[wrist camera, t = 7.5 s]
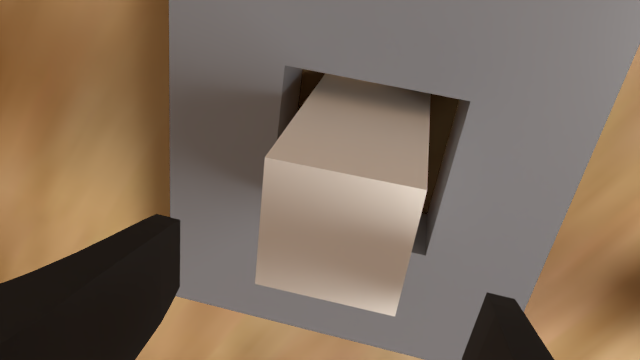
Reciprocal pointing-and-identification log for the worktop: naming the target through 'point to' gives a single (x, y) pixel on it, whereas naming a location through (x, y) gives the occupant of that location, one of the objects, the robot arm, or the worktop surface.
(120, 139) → the worktop surface
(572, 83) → the socket plate
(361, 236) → the square peg
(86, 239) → the worktop surface
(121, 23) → the worktop surface
